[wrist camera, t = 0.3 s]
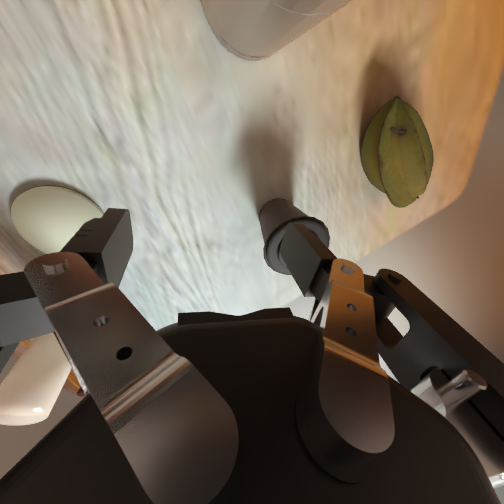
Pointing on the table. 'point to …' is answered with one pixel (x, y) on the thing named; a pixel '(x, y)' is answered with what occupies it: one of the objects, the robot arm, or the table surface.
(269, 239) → the coffee cup
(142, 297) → the table surface
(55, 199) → the coaster
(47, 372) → the cream white cylinder
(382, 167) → the fruit
